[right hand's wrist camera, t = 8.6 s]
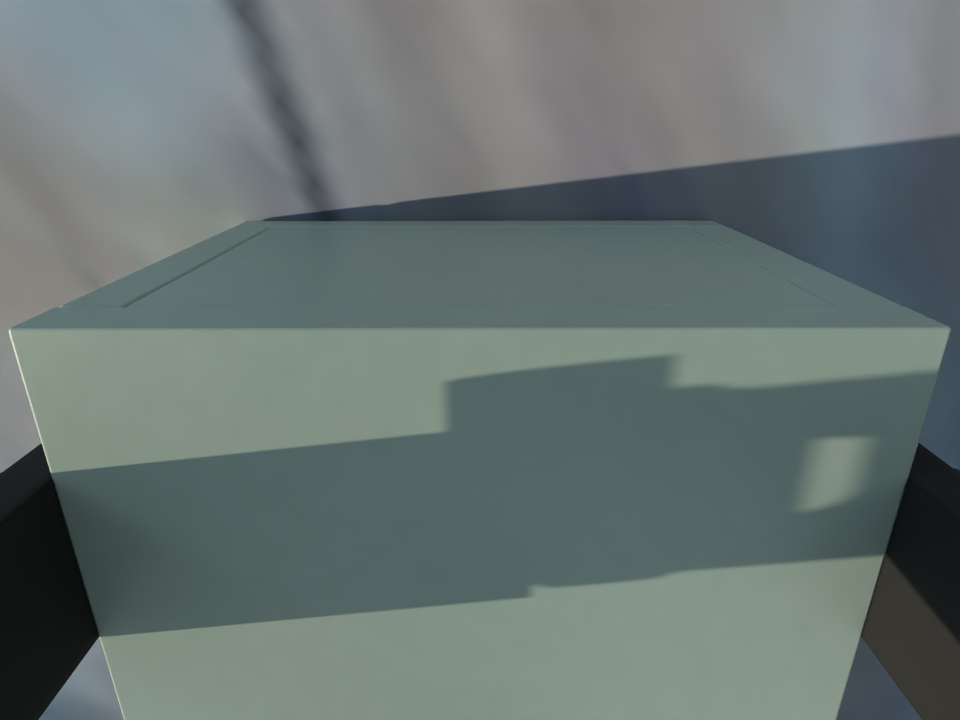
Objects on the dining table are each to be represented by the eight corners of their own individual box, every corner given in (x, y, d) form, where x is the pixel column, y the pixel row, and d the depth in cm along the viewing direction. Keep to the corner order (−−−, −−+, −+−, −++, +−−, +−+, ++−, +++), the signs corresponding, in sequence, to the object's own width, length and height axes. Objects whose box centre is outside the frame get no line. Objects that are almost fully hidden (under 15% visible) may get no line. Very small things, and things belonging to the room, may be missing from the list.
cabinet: (645, 725, 21) (737, 1060, 14) (315, 725, 21) (224, 1061, 14) (714, 219, 15) (954, 326, 7) (244, 220, 15) (6, 328, 7)
